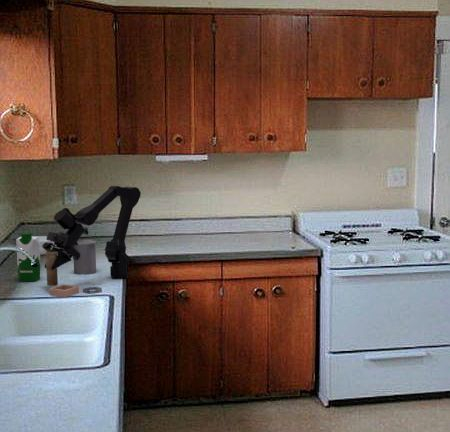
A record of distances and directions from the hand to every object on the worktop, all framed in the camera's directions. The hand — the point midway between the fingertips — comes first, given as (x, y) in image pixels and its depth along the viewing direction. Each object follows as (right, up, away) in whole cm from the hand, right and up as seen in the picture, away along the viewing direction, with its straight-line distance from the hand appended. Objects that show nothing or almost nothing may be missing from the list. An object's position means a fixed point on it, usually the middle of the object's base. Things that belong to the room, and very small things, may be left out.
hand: (48, 268), depth 251 cm
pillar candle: (+6, -5, +37) cm, 38 cm away
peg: (+1, -6, +2) cm, 7 cm away
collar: (+7, -9, -3) cm, 12 cm away
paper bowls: (-26, +1, +85) cm, 89 cm away
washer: (+17, -9, +2) cm, 19 cm away
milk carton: (-14, -7, +22) cm, 27 cm away
